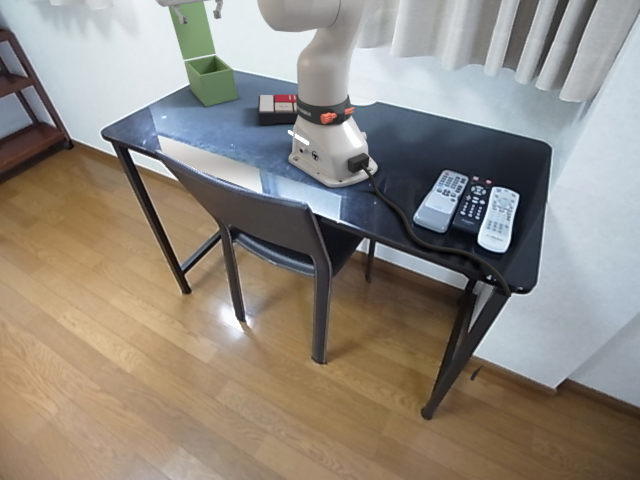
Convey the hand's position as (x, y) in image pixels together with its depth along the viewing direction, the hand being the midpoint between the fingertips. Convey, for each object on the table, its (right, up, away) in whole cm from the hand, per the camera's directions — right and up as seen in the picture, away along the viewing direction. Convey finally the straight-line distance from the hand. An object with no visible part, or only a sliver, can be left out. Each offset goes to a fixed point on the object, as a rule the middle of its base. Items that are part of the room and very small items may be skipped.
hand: (201, 21), depth 100 cm
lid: (-5, +3, +9) cm, 11 cm away
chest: (-1, -13, +16) cm, 21 cm away
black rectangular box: (+22, -23, +6) cm, 33 cm away
